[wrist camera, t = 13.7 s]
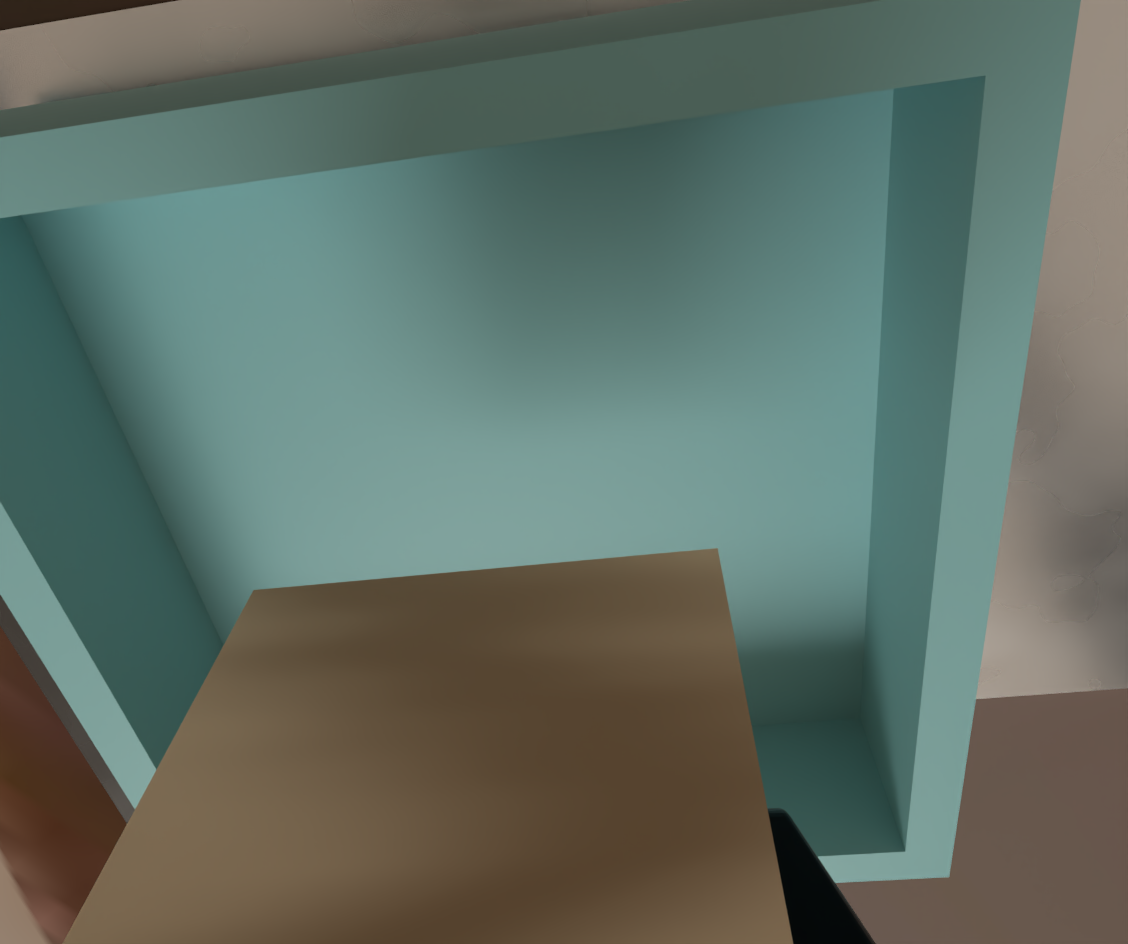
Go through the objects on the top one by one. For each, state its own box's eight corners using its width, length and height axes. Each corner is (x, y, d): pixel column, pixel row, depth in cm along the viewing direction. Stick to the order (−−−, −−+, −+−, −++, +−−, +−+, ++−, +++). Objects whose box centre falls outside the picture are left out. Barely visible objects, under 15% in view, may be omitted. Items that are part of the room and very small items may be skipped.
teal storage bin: (924, -40, 12) (1084, -32, 8) (877, 685, 19) (949, 876, 15) (-7, 108, 13) (-260, 177, 9) (276, 730, 21) (201, 915, 17)
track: (1893, -290, 11) (2293, -362, 8) (1420, 646, 19) (1546, 754, 17) (-171, 60, 14) (-345, 86, 11) (192, 737, 22) (138, 841, 20)
